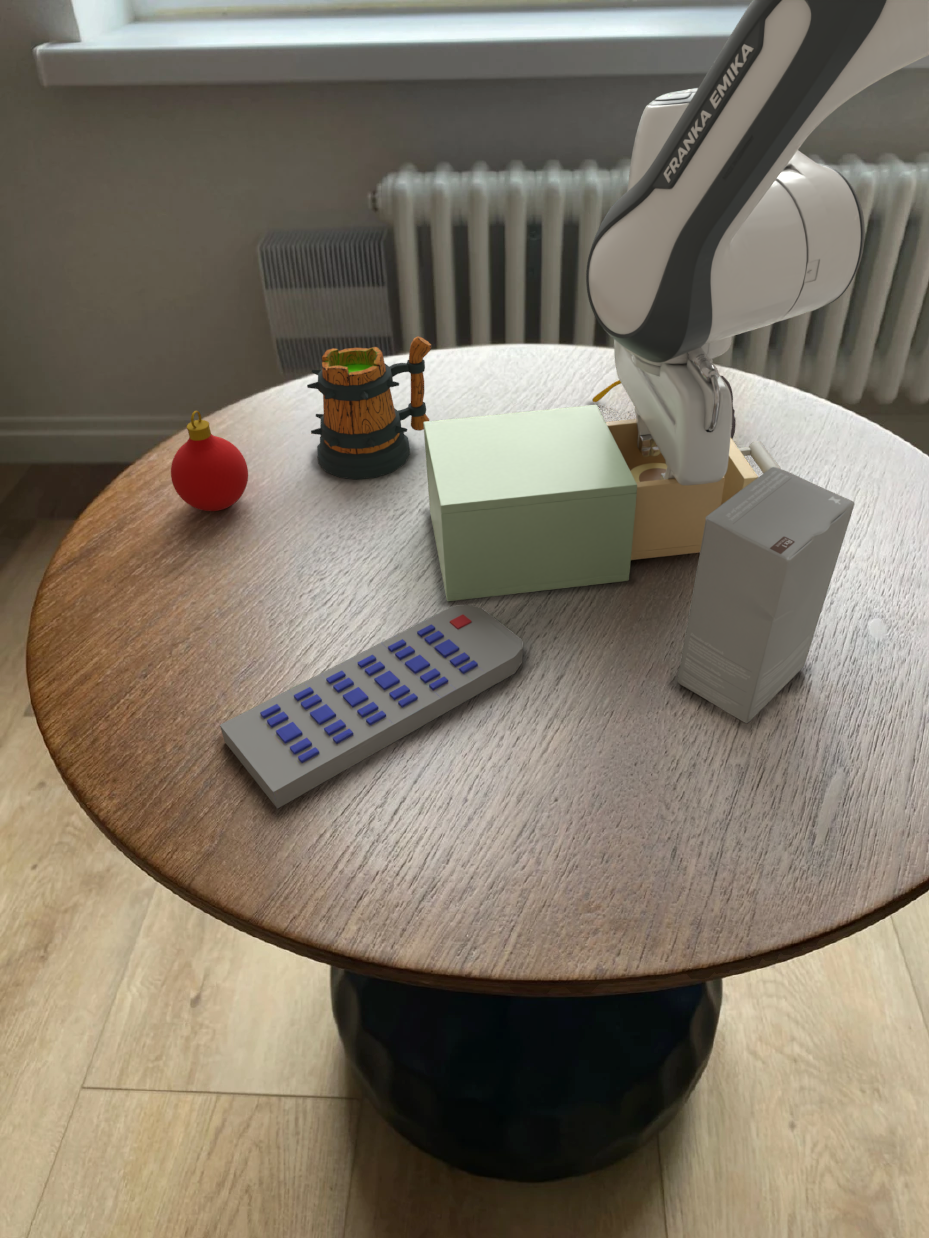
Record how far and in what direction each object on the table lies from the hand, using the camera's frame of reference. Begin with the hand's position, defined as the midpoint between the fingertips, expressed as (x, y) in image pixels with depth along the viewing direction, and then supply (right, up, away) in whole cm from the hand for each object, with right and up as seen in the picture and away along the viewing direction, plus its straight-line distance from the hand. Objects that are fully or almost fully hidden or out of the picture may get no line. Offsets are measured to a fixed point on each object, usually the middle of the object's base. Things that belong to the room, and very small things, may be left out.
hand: (659, 473), depth 84 cm
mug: (-26, +5, +17) cm, 31 cm away
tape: (0, -3, +3) cm, 4 cm away
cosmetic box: (+4, -17, -11) cm, 21 cm away
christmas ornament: (-41, -2, +10) cm, 42 cm away
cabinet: (-12, -6, +3) cm, 13 cm away
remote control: (-23, -19, -12) cm, 32 cm away
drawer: (+1, -4, +3) cm, 5 cm away
